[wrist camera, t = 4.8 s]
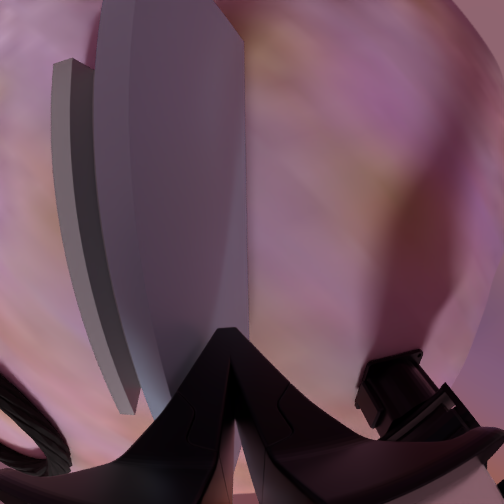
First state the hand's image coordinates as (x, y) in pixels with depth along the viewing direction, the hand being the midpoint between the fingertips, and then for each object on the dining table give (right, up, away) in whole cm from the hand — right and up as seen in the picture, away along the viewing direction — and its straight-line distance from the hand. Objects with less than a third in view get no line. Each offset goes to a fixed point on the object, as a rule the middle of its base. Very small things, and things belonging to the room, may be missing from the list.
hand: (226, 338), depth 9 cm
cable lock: (-35, -18, +14) cm, 42 cm away
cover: (-1, 0, +2) cm, 2 cm away
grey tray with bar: (-5, +3, +9) cm, 11 cm away
